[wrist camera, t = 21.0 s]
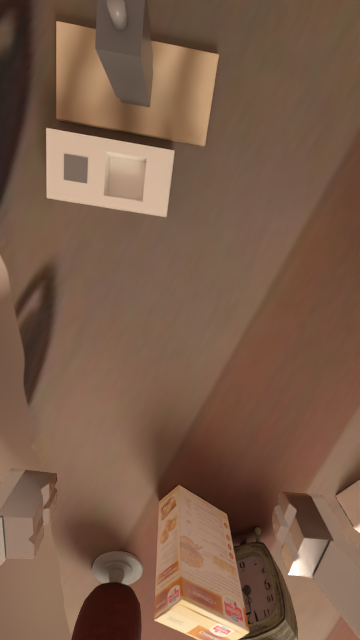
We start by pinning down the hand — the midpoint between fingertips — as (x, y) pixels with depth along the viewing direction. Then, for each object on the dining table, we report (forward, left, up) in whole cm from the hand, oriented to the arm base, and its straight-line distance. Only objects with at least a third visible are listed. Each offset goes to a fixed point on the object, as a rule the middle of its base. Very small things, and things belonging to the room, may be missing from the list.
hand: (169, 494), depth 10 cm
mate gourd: (+3, +73, -37) cm, 82 cm away
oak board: (+8, -25, -37) cm, 45 cm away
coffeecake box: (-12, +50, -37) cm, 64 cm away
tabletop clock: (-25, +60, -37) cm, 75 cm away
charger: (+8, -25, -36) cm, 45 cm away
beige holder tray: (+10, -14, -37) cm, 41 cm away
